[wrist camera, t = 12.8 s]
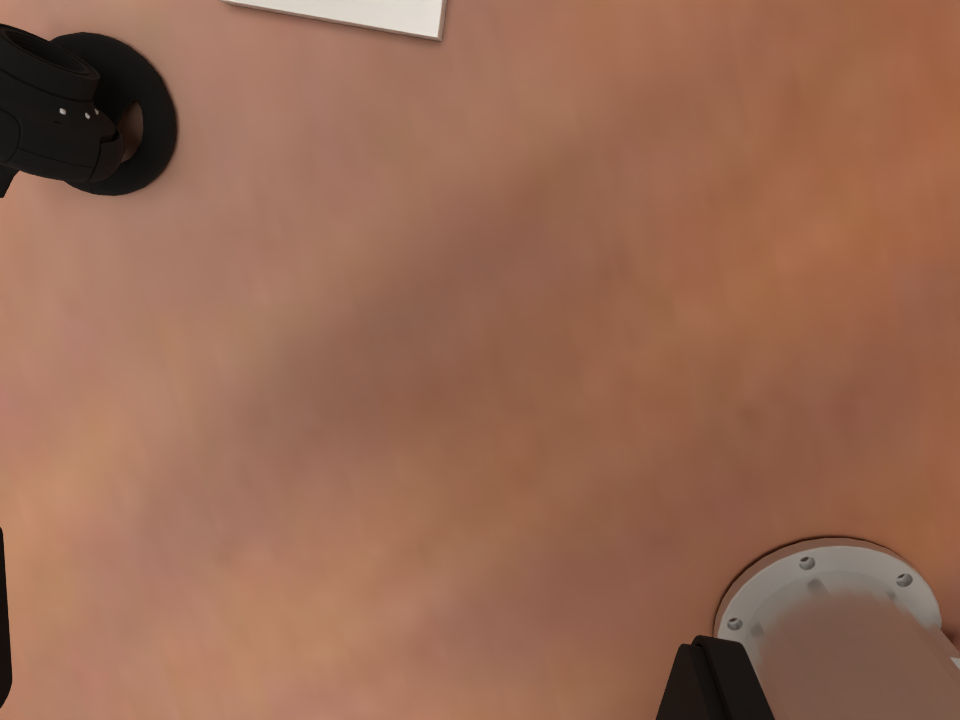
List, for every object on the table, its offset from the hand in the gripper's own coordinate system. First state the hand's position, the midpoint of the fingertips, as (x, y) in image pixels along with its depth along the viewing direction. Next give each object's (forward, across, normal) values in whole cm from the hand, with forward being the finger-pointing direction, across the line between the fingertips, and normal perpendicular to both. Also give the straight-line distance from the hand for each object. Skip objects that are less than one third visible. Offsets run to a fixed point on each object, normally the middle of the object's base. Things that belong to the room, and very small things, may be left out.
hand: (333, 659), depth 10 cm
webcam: (+28, +19, -4) cm, 34 cm away
